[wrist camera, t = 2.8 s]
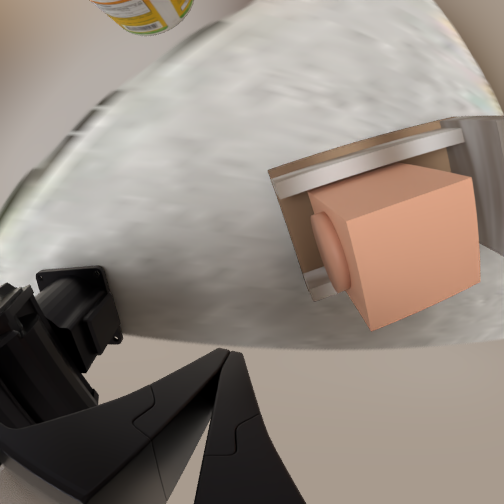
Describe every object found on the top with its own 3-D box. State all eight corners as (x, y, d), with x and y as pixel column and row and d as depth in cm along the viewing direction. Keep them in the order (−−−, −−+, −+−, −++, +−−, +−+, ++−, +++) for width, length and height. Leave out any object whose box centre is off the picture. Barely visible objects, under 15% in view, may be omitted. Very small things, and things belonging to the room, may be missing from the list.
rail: (306, 286, 22) (329, 342, 16) (267, 170, 19) (278, 182, 13) (472, 222, 21) (529, 249, 14) (453, 116, 18) (516, 115, 12)
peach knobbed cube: (321, 269, 20) (357, 336, 13) (297, 193, 18) (330, 226, 11) (412, 236, 19) (480, 281, 12) (396, 162, 18) (471, 177, 10)
